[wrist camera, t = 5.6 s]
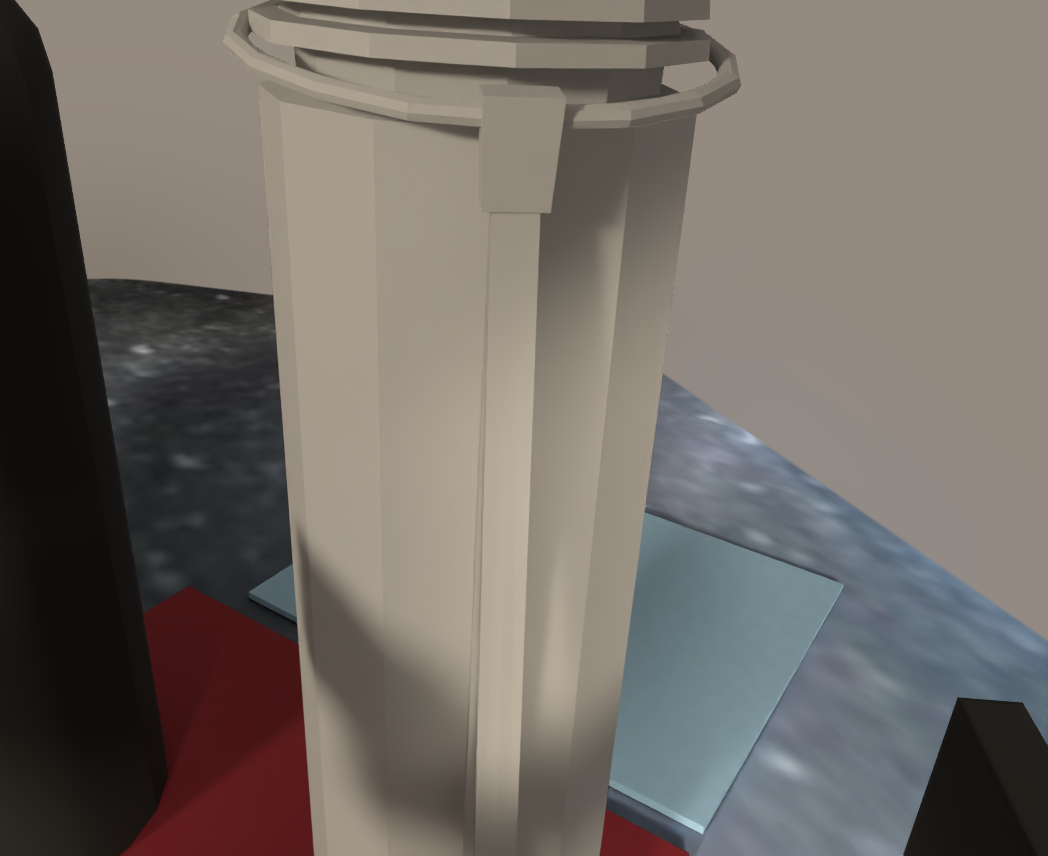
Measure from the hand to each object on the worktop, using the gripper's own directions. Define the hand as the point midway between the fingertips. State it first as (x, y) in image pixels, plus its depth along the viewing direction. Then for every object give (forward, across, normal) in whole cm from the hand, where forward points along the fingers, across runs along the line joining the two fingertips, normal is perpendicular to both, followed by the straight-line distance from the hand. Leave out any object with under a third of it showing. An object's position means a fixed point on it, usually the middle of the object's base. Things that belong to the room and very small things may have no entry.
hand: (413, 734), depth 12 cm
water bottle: (+7, 0, -13) cm, 14 cm away
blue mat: (+20, +2, -13) cm, 24 cm away
